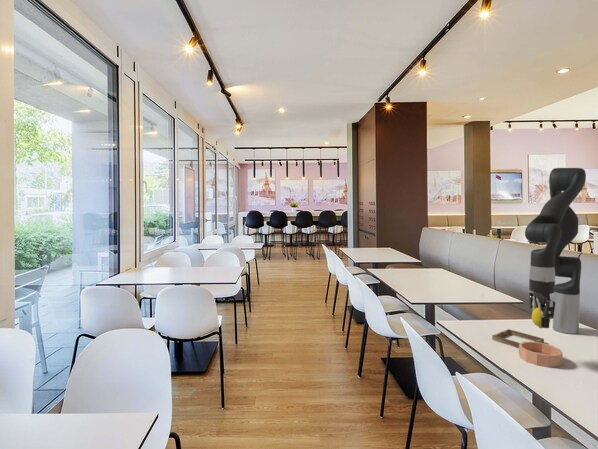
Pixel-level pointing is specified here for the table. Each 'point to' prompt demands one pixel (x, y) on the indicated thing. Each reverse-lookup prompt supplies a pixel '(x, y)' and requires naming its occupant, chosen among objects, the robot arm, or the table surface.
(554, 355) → the bowl
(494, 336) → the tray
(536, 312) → the lemon
